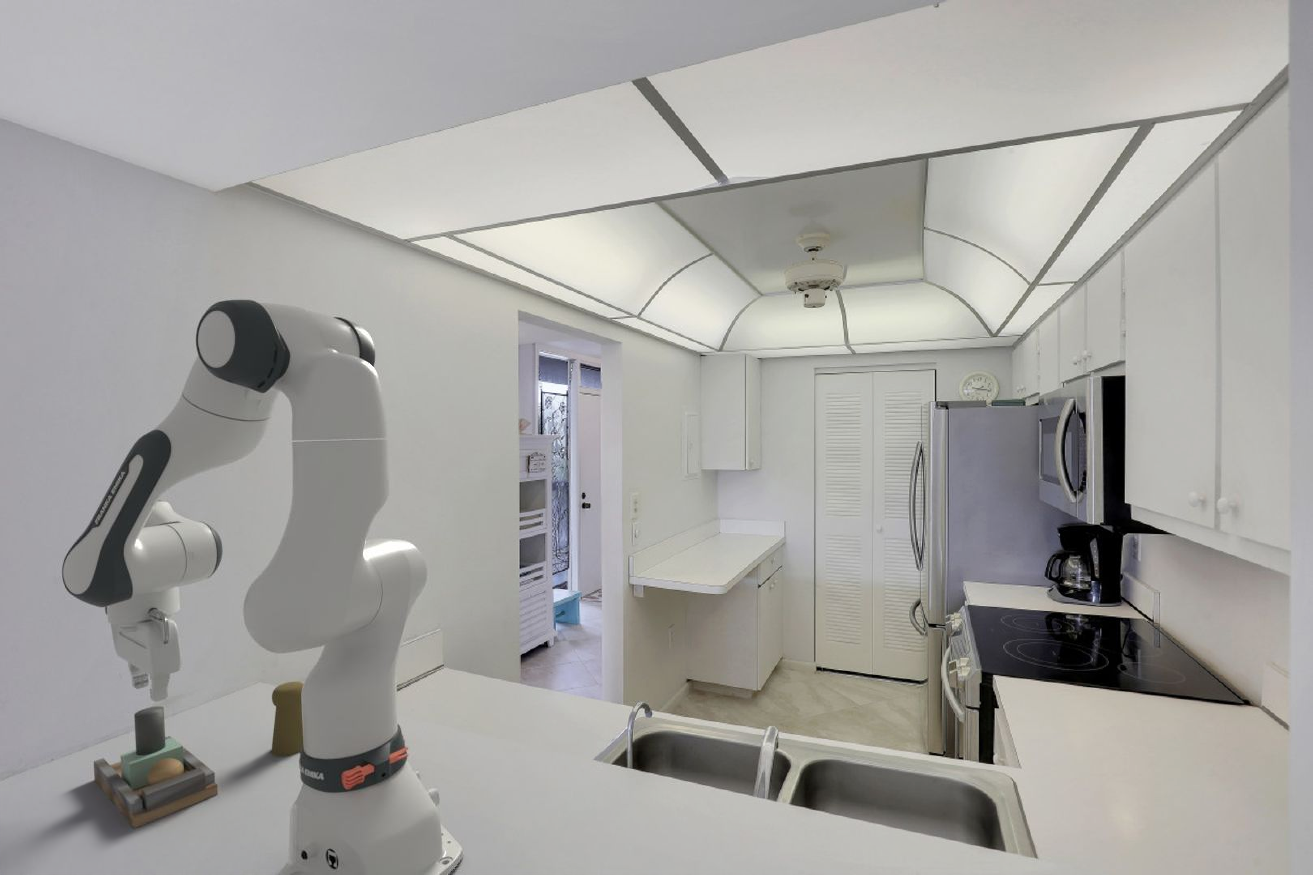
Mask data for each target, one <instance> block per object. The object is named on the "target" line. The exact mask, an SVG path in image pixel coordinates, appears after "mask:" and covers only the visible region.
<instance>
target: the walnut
mask: <svg viewBox="0 0 1313 875" xmlns="http://www.w3.org/2000/svg"><path fill="white" fill-rule="evenodd" d="M183 773H184V767H183V765H182V763H181V762H180V761H179V760H177V759H173V758H167V759H163V760H161V761H159V762H157V763H156V764H155V765H154V766H153V767H152V768H151V769H150V771H149V772H148V775H147V784H148V786H152V785H155V784H157V783H160V782H162V781H165V780H168V779H170V778H173V777H176V776H178V775H181V774H183Z"/></svg>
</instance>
